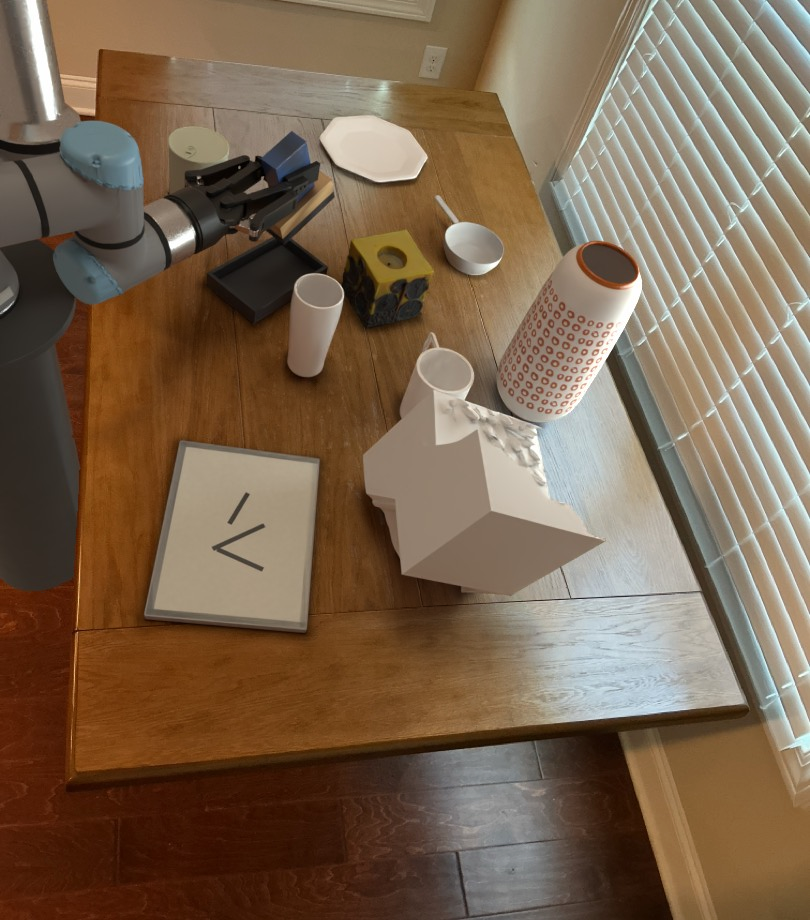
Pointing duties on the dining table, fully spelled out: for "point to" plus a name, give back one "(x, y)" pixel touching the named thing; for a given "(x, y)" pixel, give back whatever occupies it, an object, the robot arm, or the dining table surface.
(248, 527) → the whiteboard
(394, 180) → the plate
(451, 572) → the tissue box
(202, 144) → the can
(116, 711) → the dining table surface
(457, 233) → the small pan
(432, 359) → the cup
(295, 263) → the tray
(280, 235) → the blue block with base
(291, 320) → the drinking glass
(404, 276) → the candle
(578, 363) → the patterned vase
